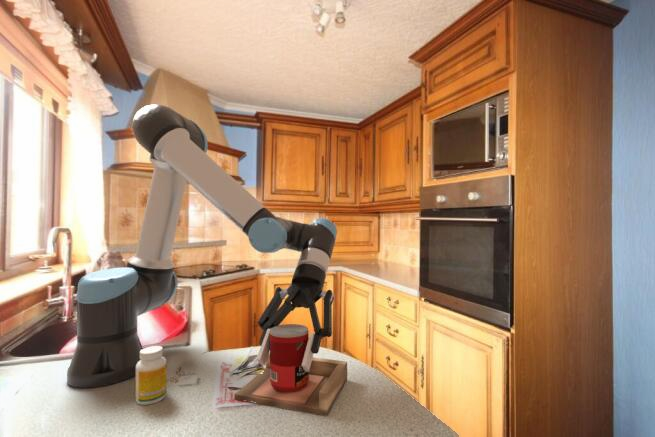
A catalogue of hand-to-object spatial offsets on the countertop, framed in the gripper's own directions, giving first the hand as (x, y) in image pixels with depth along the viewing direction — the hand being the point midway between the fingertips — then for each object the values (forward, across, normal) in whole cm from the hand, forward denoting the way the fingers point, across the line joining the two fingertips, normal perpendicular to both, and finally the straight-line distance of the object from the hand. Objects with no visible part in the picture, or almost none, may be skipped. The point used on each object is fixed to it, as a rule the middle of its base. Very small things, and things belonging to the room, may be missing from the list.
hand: (282, 365), depth 64 cm
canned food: (+1, 0, -6) cm, 6 cm away
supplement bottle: (+10, +25, 0) cm, 27 cm away
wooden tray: (+2, 0, -8) cm, 8 cm away
